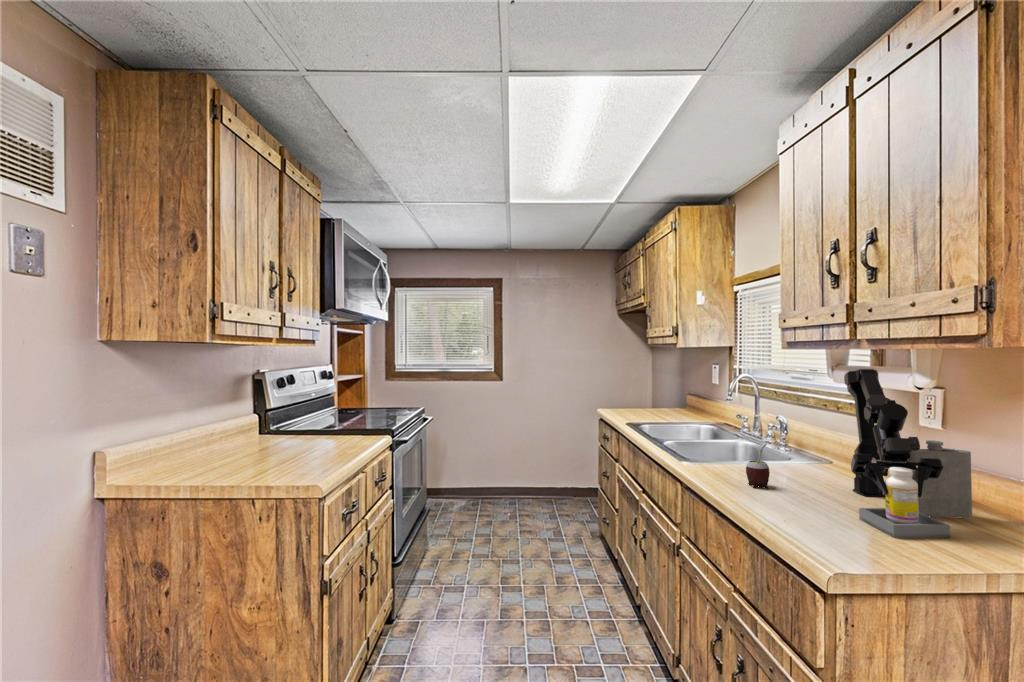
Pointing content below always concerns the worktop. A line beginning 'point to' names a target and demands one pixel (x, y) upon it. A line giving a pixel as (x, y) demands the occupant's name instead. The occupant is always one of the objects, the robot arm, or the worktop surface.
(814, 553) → the worktop surface
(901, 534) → the tray
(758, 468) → the mate gourd
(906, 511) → the supplement bottle
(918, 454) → the hip flask
